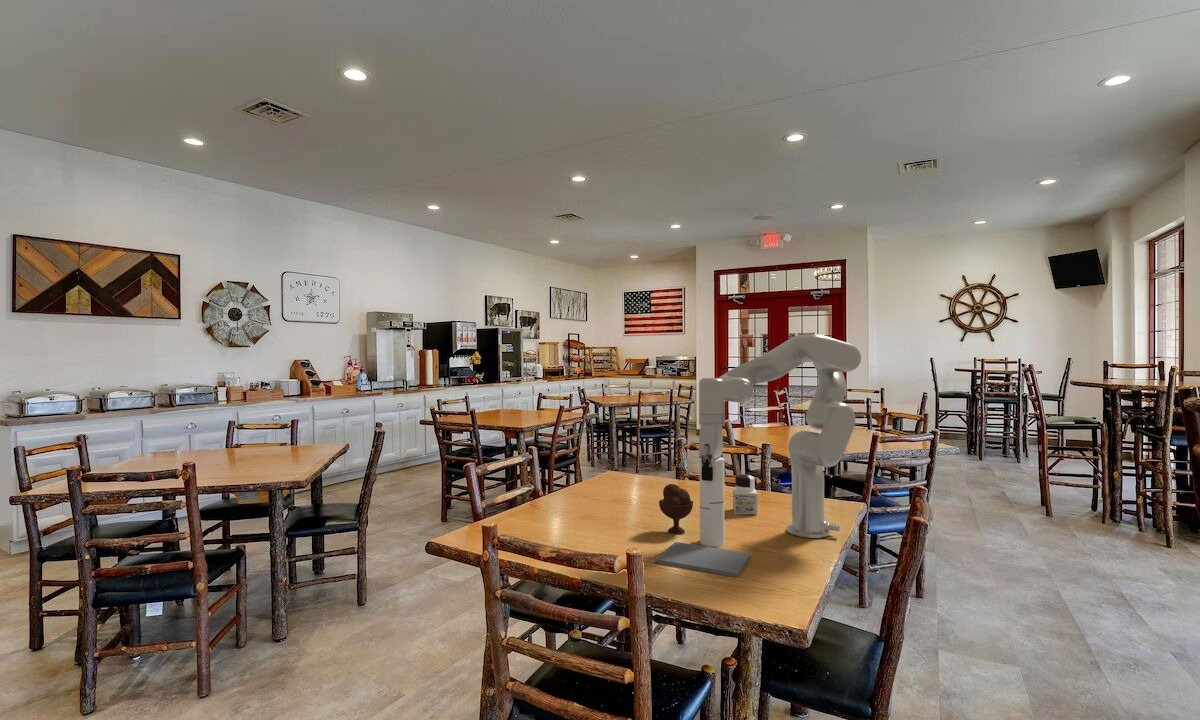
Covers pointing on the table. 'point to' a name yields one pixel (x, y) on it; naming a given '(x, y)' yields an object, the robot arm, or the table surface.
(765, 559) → the table surface
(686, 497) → the ice cream bowl
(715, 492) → the cylindrical container
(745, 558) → the board
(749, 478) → the container
